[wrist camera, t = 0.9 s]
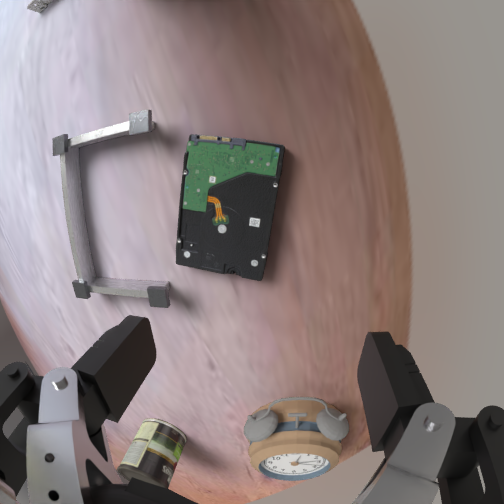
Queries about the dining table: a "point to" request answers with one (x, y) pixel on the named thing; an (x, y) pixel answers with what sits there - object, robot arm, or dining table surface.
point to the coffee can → (153, 453)
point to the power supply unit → (38, 5)
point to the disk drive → (227, 204)
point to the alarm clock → (295, 438)
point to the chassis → (76, 216)
